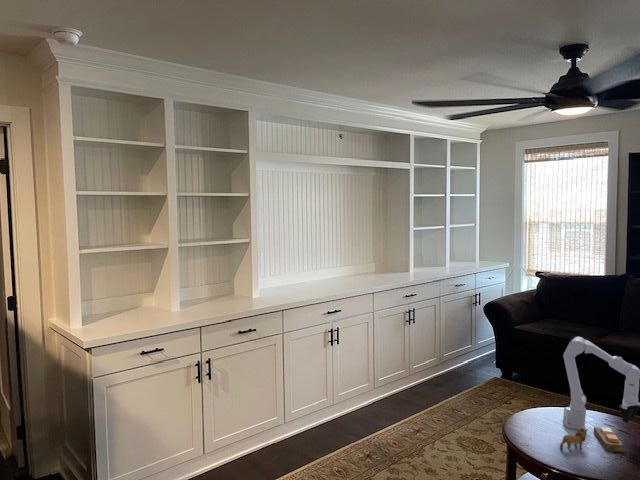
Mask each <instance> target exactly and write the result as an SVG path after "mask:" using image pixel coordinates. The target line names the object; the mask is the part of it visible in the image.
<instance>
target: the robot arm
mask: <svg viewBox="0 0 640 480" xmlns="http://www.w3.org/2000/svg"><path fill="white" fill-rule="evenodd" d="M583 352H584V354H593V355H595V356H597V357H598V358H600V359H602V360H604V361H605V362H607V363H608V366H609V367H610V368H612V369H614V370H615V371H617V372H619V373H620V374H621V375H624V376H625V380H624V390H623V398H622V403H621V404H620V405H618V409H619V412H620V415H621V418H622V422H624V423H627V424H628V423H629V421H630V419H631V418H632V419H635V417H636V415H637V412H638V411H639V408H640V402H639V391H640V368H639V367H637V366H636V365H635V364H632V363H629V362H627V361H626V360H624V359H623V358H622V356H618V355H613V356H612V355H611V354H609V353H607V352H606V351H605V350H603V349H601V347H599V346H597V345H596V344H594V343H593V342H591V341H589V340H588V339H585V338H584V337H582V336H574V337H573V338H572V339H571V340H570V341H569V343H568V345H567V347H566V349H565V350H564V352H563V361H564V365H565V366H564V367H565V370H566V375H567V380H568V385H569V388H570V389H569V390H570V403H569V406H565V407H564V408H563V417H562V422H563V424H564V425H565V427H566V428H567V429H574V430H577V428H579V427H583V428H584V429H585V430H586V431H588V428H587V426H586V416H587V415H586V414H587V408H586V407H585V406H586V403H587V396H586V395H585V394H584V391H583V389H582V387H581V381H580V378H579V371H578V368H577V363H576V357H577V356H578V355H580V354H582V353H583Z"/></svg>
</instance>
